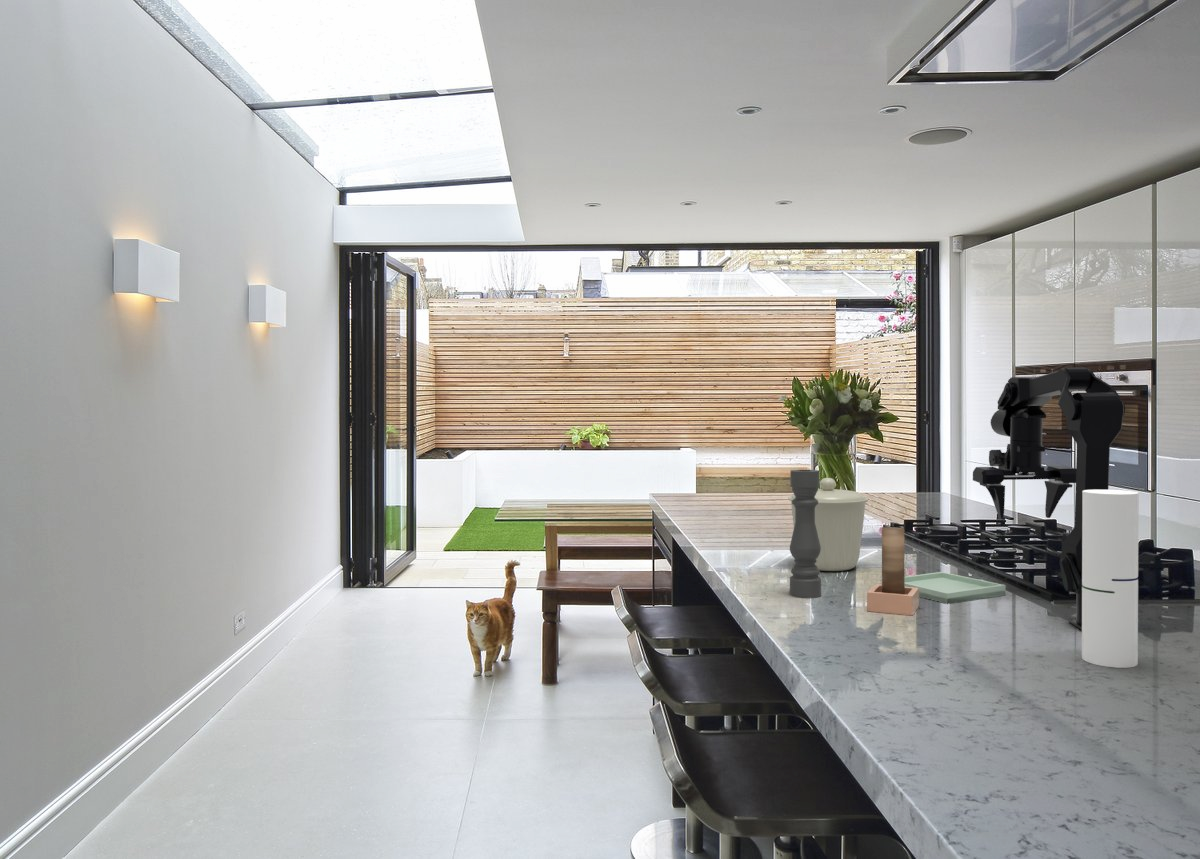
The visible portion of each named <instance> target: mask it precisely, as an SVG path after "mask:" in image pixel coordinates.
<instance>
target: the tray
mask: <svg viewBox="0 0 1200 859" xmlns="http://www.w3.org/2000/svg"><path fill="white" fill-rule="evenodd" d="M1006 586H1007V585H1006V584H1003V583H997V582H992V581H987V580H982V579H978V578H972V577H969V576H964V575H959V574H953V573H948V572H944V571H939V572H930V573H922V574H916V575H915V574H914V575H908V576H907V575H906V576H905V587H914V588H919V598H921V599H922V598H923V599H925V598H926V599H925V600H929V599H931V600H930V601H933V600H935V601H934V602H937V601H939V602H938V603H941V602H943V603H942V604H945V603H947V604H946V605H948V603H950V604H956V603H955V602H957V603H961V601H964V602H969V601H968V600H970V601H975V600H974V599H977V600H982V599H981V598H983V599H988V598H994V597H995V598H996V597H1001V596H1006V592H1007V591H1006Z"/></svg>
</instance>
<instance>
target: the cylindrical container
mask: <svg viewBox="0 0 1200 859" xmlns="http://www.w3.org/2000/svg"><path fill="white" fill-rule="evenodd" d="M1139 496H1140V495H1139V492H1138V491H1133V490H1123V489H1122V490H1120V489H1108V490H1083V491H1082V585H1083V586H1082V630H1081V659H1082V660H1083V661H1085V662H1087V663H1090V664H1092V665H1096V666H1101V667H1107V668H1117V669H1118V668H1119V669H1124V668H1125V669H1127V668H1133V667H1134V668H1135V667H1137V666H1138V664H1139V662H1138V661H1139V658H1138V657H1139V656H1138V653H1139V652H1138V651H1139V648H1138V647H1139V643H1138V642H1139V635H1138V634H1139V578H1138V577H1139V510H1140V508H1139V501H1140V500H1139Z"/></svg>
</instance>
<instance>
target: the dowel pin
mask: <svg viewBox="0 0 1200 859" xmlns="http://www.w3.org/2000/svg"><path fill="white" fill-rule="evenodd" d="M881 585H882V593H894V594H905V528H902V527H895V526H892V527H891V526H889V527H886V526H885V527H882V528H881Z"/></svg>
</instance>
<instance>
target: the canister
mask: <svg viewBox="0 0 1200 859" xmlns="http://www.w3.org/2000/svg"><path fill="white" fill-rule="evenodd" d="M819 487H820V488H818V491H817V493H816V495H815V499H817V500H818V504H817V505H816V507H815V525H816V529H817V533H818V538H819V542H820V546H821V551H820V554H819V556H818V558H817V559H816V560H817V561H816V563H815V565H816V566H817V568H818V569H819V570H820V572H844V571H849V570H852V569H854V568H855V567H856V566H857V564H858V562H859V560H860V559H859V558H860V553H861V547H862V539H863V528H864V521H865V511H866V503H867V502H868V501H869V498H868V497H866V496H864V495H863V494H862V493H860V492H858V491H854V490H848V489H836V481H835V479H834V478H832V477H824V478H822V479H821V480H819ZM793 499H795V495H794V493H793V494H792V495H790V496H788V500H789V501H790V503H791V514H792V522H793V527H794V526H795V507H794V505H793V504H792V500H793Z"/></svg>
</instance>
